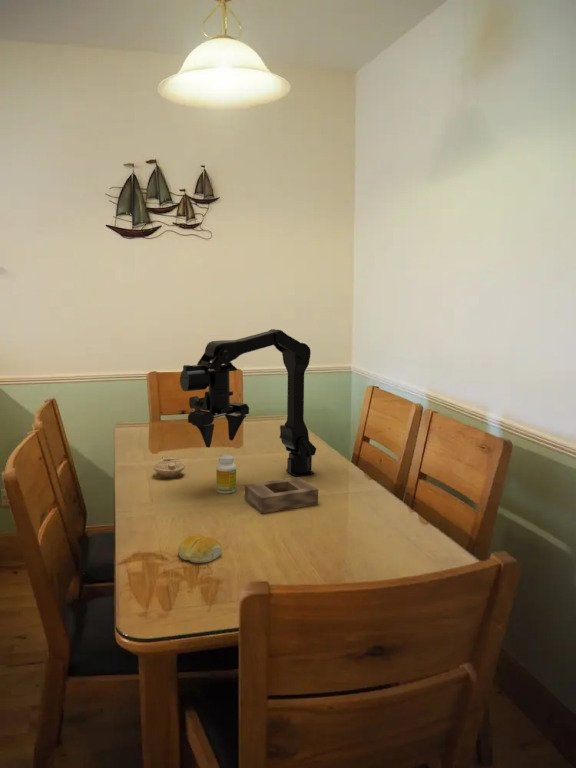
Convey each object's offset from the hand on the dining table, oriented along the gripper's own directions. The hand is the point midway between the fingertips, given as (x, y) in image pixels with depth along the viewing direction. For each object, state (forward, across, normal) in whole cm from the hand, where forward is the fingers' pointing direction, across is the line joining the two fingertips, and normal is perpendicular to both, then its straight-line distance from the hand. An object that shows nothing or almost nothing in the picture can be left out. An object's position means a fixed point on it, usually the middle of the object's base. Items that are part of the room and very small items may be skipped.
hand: (219, 443), depth 166 cm
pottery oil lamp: (+13, 0, -20) cm, 24 cm away
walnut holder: (+13, -2, +20) cm, 24 cm away
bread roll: (+13, +33, +25) cm, 44 cm away
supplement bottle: (+13, +1, +3) cm, 13 cm away
